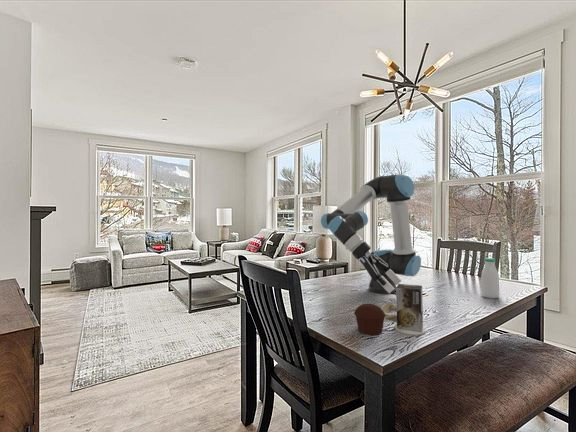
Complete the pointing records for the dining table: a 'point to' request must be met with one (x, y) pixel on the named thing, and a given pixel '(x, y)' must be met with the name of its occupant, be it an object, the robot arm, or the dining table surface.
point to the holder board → (387, 308)
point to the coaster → (410, 331)
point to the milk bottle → (490, 279)
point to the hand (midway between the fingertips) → (395, 286)
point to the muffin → (369, 319)
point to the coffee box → (409, 307)
